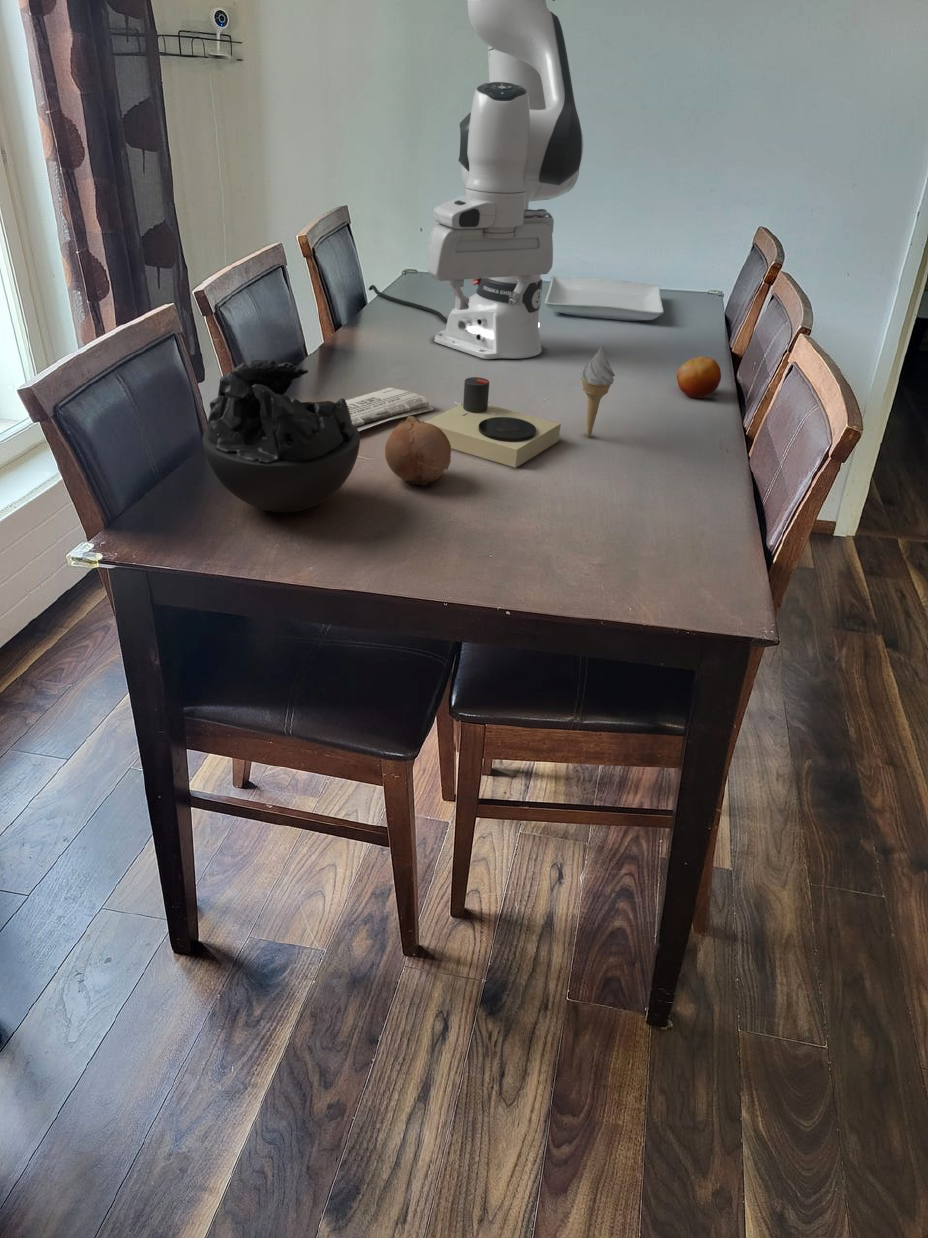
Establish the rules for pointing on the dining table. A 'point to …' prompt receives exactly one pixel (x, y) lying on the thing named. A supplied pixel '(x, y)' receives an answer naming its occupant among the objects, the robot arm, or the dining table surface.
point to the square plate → (604, 298)
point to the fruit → (699, 377)
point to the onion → (418, 451)
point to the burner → (507, 429)
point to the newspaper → (384, 407)
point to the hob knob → (476, 395)
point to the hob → (469, 439)
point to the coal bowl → (277, 439)
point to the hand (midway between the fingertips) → (488, 306)
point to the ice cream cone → (596, 384)
